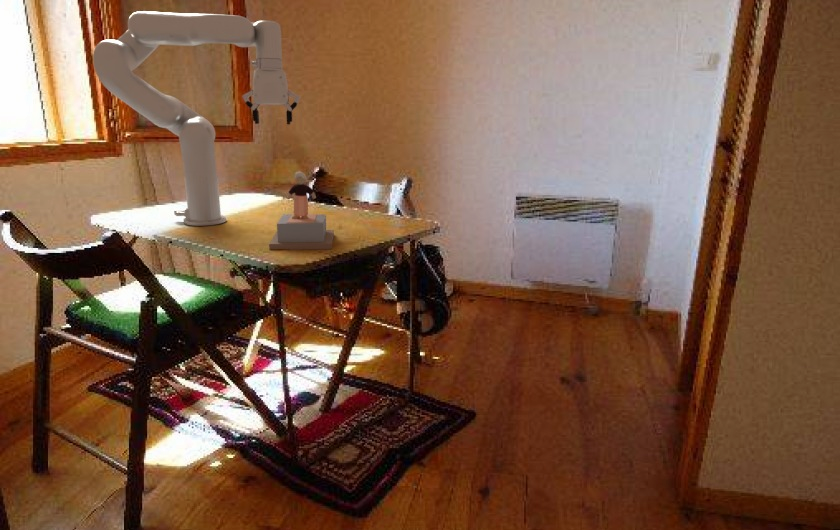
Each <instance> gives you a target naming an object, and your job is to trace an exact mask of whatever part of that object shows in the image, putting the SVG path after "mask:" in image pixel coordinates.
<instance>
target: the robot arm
mask: <svg viewBox="0 0 840 530" xmlns="http://www.w3.org/2000/svg"><path fill="white" fill-rule="evenodd" d="M281 31H282V28H281V25H280V23H278V22H277V21H273V20H258V21H256V22H252V21H250V19H248V18H247V17H245V16H241V15H233V14H219V13H218V14H217V13H215V14H214V13H183V12H182V13H179V12H161V11H146V10H143V11H140V10H139V11H136V12H133V13H132V14H131V15H130V16H129V17H128V20H127V30H126V31H125V32H124V33H122V35H121V36H119V38H117V39H104V40H101V41H99V42H98V43H97V44H96V46H95V48H94V50H93V56H92V62H93V63H92V64H93V68H94V72H95V74H96V75H97V76H96V77H97V78H98V80H99V81H100V82H101V85H103V87H104V88H105V89H106V90H108V91H109V92H110V93H111V94H112V95H114V97H116V98H117V99H119V100H120V101H122V102H123V103H124V104H125V105H127V106H129V108H131V109H133V110H134V111H136V112H137V113H138V114H140V115H141V116H143V117H144V118H146V119H147V120H148V121H150V123H152V124H154V125H155V126H157V127H159V128H163V129H166V130H168V131H169V132H171V133H173V135H175V136H177V137H178V140H179V147H180V153H181V159H182V161H181V162H182V167H183V168H182V169H183V175H184V176H183V177H184V185H185V195H186V197H185V198H186V205H187V207H185V208H184V209H181V208H179V209H178V208H177V209H174V211H173V212H174V215H175V216H176V217H184V218H183V224H185V225H187V226H194V227H195V226H196V227H197V226H198V227H199V226H200V227H202V226H203V227H204V226H205V227H207V226H215V225H220V224H223V223H226V222H227V217H226V216H225V215H222V213H221V202H220V191H219V189H220V188H219V179H218V177H219V176H218V170H217V159H216V157H217V156H216V150H215V149H216V148H215V139H216V129H215V127H214V125H213V124H212V123H211V122H210V121H209V120H208V119H206V118H205V117H203V116H202V115H201V114H199V113H198V112H196V111H195V110H193V109H192V108H191V107H189V106H188V105H186V103H184V102H182V101H181V100H179V99H178V98H177V97H174V96H173V95H169V94H168V95H167V94H165V93H163V92H162V91H160V90H158V89H156V88H155V87H154V86H152V85H151V84H149V83H148V82H147V81H145V80H144V79H142V78H141V77H139V76H138V75H137V74H135V72H133V71H134V70H135V69H137V68H138V67H139V66H140V65H142V63H143V62H144V61H145V60H146V59H147V58H148V57H149V56H150V55H151V54H153V52H155V50H156V49H158V47H159V46H161V45H163V46H183V47H184V46H186V47H192V46H193V47H194V46H199V45H203V44H232V45H235V46H237V47H240V48H250V47H255V55H256V59H255V60H254V61H253V60H251V66H253V67H256V69H254V71H253V78H252V79H253V83H252V85H253V86H252V87H253V89H252V90H250V91H248V92H246V93H244V94H242V96H241V98H242V99H243V101H244V103H245V104H246V105H247V107H248V108H250V109H251V111H252V112H251V113H252V120H253V122H254V123H255V125H258V124H260V116H259V115H260V114H259V110H258V108H260V107H259V106H260V105H277V106H278V105H283V106H284V107H285V109H286V124H287V125H291V122H293V111H294V110H295V108H296V107H297V106H298V104H299V102H300V100H301V96H300V95H298V94H296V93H294V92H292V90H291V91H290V90H289V86H288V80H287V74H286V71H285V70H283V50H282V49H283V48H282V47H283V46H282V32H281ZM250 97H253V102H254V103H252V102H251V101H250V99H249V98H250ZM290 97H291V98H293V99H294V101H293V103H291V104H290V103H289V102H290V100H289V99H290Z"/></svg>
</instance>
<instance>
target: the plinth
mask: <svg viewBox="0 0 840 530" xmlns="http://www.w3.org/2000/svg"><path fill="white" fill-rule="evenodd" d="M293 215H294V213H292V214H282V215H281V217H280V218H279V220H278V221H277V223H276V230H277V231H276V232H275V234H274V235H273V237H272V239H271V240H270V242H269V243H268V250H269V251H272V250H271V249H289V250H332V246H333V241H334V236H335V231H334V229H327V214H323V213H322V214H320V213H319V214H317V213H308V215H307V216H308V219H301V217H302V216H300V218H298V219H292V216H293Z"/></svg>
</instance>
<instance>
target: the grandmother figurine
mask: <svg viewBox="0 0 840 530" xmlns="http://www.w3.org/2000/svg"><path fill="white" fill-rule="evenodd" d="M307 180H308V177H307V175H306V174H305V173H304V172H303V171H301V170H299V171H296V172H295V173H294V181H295V182H296V184H294V185H292V186H291V188H290V189H289V191H288V193H287V196H286V199H287V200H291V197H292V195H294V196H293V214H294V215H293V216H292V219H298V218H300V216H302V217H301V219H308V216H307V215H308V214H309V199H308V195H310V196H311V197H312V199H313V200H314V199H316V198H317V196H316V194H315V191H314V189H312V188H311V186H309V185H306V184H305V182H306V181H307Z"/></svg>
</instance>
